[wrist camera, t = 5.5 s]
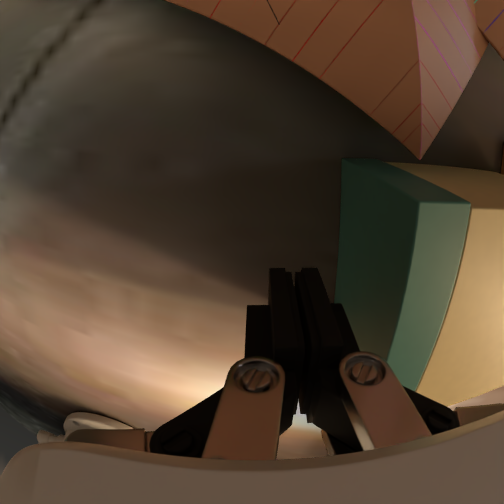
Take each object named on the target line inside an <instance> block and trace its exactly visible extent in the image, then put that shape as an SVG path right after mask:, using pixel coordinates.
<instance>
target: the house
mask: <svg viewBox="0 0 504 504" xmlns="http://www.w3.org/2000/svg"><path fill="white" fill-rule="evenodd" d="M164 1H167V2H170V3H173V4H176V5H178V6H181V7H183V8H186V9H189V10H191V11H194V12H196V13H198V14H201V15H203V16H205V17H208V18H210V19H212V20H215V21H217V22H219V23H221V24H223V25H225V26H228V27H230V28H232V29H234V30H236V31H238V32H240V33H242V34H244V35H246V36H248V37H250V38H252V39H253V40H255V41H257V42H259V43H261V44H263V45H265V46H266V47H268V48H270V49H272V50H273V51H275V52H277V53H279V54H280V55H282V56H284V57H285V58H287V59H289V60H290V61H292V62H294V63H295V64H297V65H299V66H300V67H302V68H303V69H305V70H306V71H308V72H309V73H311V74H313V75H314V76H316V77H317V78H319V79H320V80H321V81H323V82H324V83H326V84H327V85H329V86H330V87H332V88H333V89H334V90H336V91H337V92H339V93H340V94H341V95H343V96H344V97H345V98H347V99H348V100H349V101H351V102H352V103H353V104H355V105H356V106H357V107H359V108H360V109H361V110H363V111H364V112H365V113H366V114H368V115H369V116H370V117H371V118H373V119H374V120H375V121H376V122H377V123H379V124H380V125H381V126H382V127H383V128H385V129H386V130H387V131H388V132H389V133H390V134H392V135H393V136H394V137H395V138H396V139H397V140H398V141H399V142H401V143H402V144H403V145H404V146H405V147H406V148H407V149H408V150H409V151H410V152H411V153H413V154H414V155H415V156H416V157H417V158H418V159H419V160H421V158H422V157H423V155H424V154H425V152H426V151H427V149H428V148H429V146H430V145H431V143H432V142H433V140H434V138H435V137H436V135H437V134H438V132H439V130H440V129H441V127H442V126H443V124H444V122H445V121H446V119H447V118H448V116H449V114H450V113H451V111H452V109H453V108H454V106H455V104H456V102H457V101H458V99H459V97H460V96H461V94H462V92H463V90H464V89H465V87H466V85H467V83H468V81H469V80H470V78H471V76H472V74H473V72H474V71H475V69H476V67H477V65H478V63H479V61H480V59H481V57H482V55H483V53H484V51H485V49H486V47H487V45H488V43H490V44H491V45H492V46H493V47H494V49H495V50H496V51H497V52H498V54H499V55H500V56H501V58H502V59H503V60H504V0H164Z"/></svg>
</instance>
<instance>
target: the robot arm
mask: <svg viewBox="0 0 504 504" xmlns="http://www.w3.org/2000/svg"><path fill="white" fill-rule="evenodd" d="M298 398H299V407H300V413H301V414H306V415H307V423H313V424H314V425H316V426H317V427H319V428H321V429H322V430H321V433H322V438H323V441H324V444H325V447H326V450H327V453H328V456H324V457H314V458H302V459H285V460H276V458H277V451H278V444H279V436H280V435H281V434H282V433H283V432H285V431H286V430H287V429H288V428H289V427H290V426H291V425H292V420H293V414H296V410H297V404H298ZM63 426H64V430H65V432H66V434H65V435H59V436H56V435H54V434H52V433H49V432H47V431H44V430H40V431H39V432H38V434H37V440H38V442H39V443H40V444H35V445H31V446H28V447H26V448H24V449H22V450H20V451H19V452H18V453H17V454H15V456H14V457H13V458H12V459H11V460H10V462H9V463H8V464H7V466H6V468H5V469H4V471H3V473H2V474H1V476H0V504H504V404H500V403H499V404H490V405H481V406H469V407H456V408H455V410H454V411H452V410H451V409H450V408H448V407H446V406H445V405H443V404H440V403H438V402H436V401H434V400H432V399H430V398H427V397H425V396H423V395H421V394H419V393H417V392H415V391H413V390H411V389H408V388H406V387H404V386H402V385H401V383H400V381H399V380H398V378H397V377H396V375H395V373H394V372H393V370H392V369H391V367H390V366H389V364H388V363H387V362H386V361H385V359H384V358H382V357H380V356H379V355H377V354H374V353H372V352H366V351H360V349H359V347H358V344H357V341H356V339H355V336H354V333H353V331H352V328H351V326H350V323H349V320H348V318H347V315H346V313H345V310H344V308H343V306H342V304H341V303H330V301H329V298H328V295H327V292H326V289H325V287H324V284H323V281H322V278H321V276H320V273H319V270H318V268H301V272H295V284H293V279H292V274H291V272H286V271H285V268H269V298H268V305H247V317H246V338H245V358H243V359H241V360H239V361H237V362H236V363H235V364H234V365H233V366H232V367H231V368H230V370H229V372H228V375H227V378H226V381H225V385H224V387H223V388H222V389H220V390H219V391H217V392H216V393H214V394H213V395H211V396H210V397H208V398H206V399H205V400H203V401H202V402H200V403H198V404H197V405H195V406H194V407H192V408H190V409H189V410H187V411H185V412H184V413H182V414H180V415H179V416H177V417H175V418H174V419H172V420H170V421H169V422H167V423H165V424H163V425H162V426H160V427H159V428H158V429H157V430H155V431H149V432H146V431H145V429H144V428H143V429H134V428H132V427H130V426H128V425H126V424H123V423H121V422H118V421H116V420H113V419H110V418H107V417H104V416H101V415H97V414H92V413H87V412H76V413H71V414H70V415H68V416H67V418H66V420H65V422H64V425H63Z"/></svg>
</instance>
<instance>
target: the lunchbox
mask: <svg viewBox="0 0 504 504" xmlns="http://www.w3.org/2000/svg"><path fill="white" fill-rule="evenodd" d="M334 303H341V304H342V306H343V308H344V310H345V313H346V315H347V318H348V320H349V323H350V326H351V328H352V331H353V333H354V336H355V339H356V341H357V344H358V347H359V349H360V351H366V352H372V353H374V354H377V355H379V356H380V357H382V358H384V359H385V361H386V362H387V363H388V364H389V366H390V367H391V369H392V370H393V372H394V373H395V375H396V377H397V378H398V380H399V381H400V383H401V385H402V386H404V387H406V388H408V389H411V390H413V391H415V392H417V393H419V394H421V395H423V396H425V397H427V398H430V399H432V400H434V401H436V402H438V403H440V404H443V405H445V406H446V407H447V406H450V405H453V404H456V403H459V402H462V401H465V400H468V399H470V398H473V397H476V396H479V395H481V394H484V393H486V392H489V391H491V390H494V389H496V388H499V387H501V386H503V385H504V175H502V174H500V173H497V172H492V171H485V170H477V169H469V168H460V167H450V166H439V165H427V164H413V163H396V162H383V161H381V160H378V159H367V158H342V167H341V210H340V232H339V249H338V263H337V276H336V287H335V298H334Z"/></svg>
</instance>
